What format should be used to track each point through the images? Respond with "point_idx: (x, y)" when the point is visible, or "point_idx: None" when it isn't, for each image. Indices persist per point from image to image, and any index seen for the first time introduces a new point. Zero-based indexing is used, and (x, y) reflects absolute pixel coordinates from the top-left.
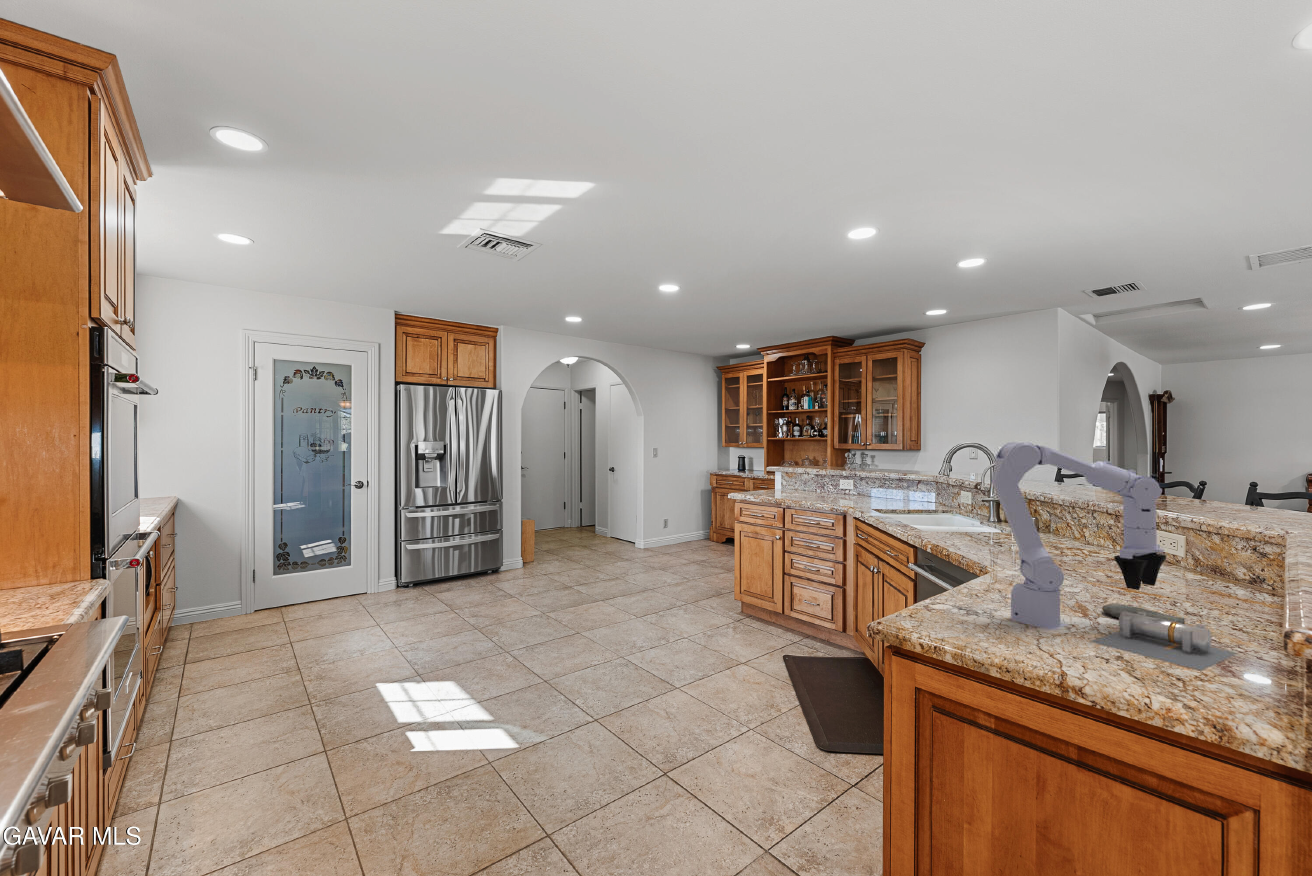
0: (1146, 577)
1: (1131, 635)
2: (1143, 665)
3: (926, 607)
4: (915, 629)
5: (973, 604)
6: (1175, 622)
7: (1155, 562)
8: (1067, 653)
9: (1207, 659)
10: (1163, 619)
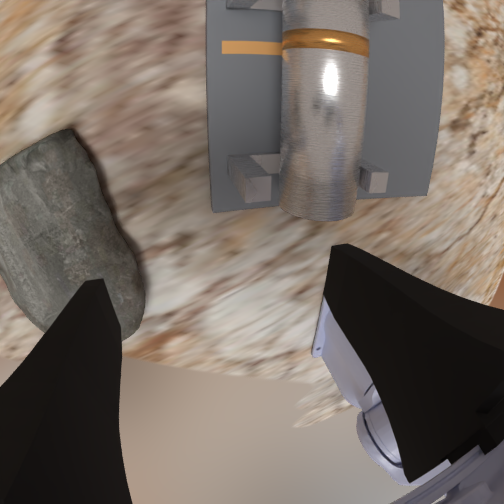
0: (106, 350)
1: None
2: (466, 83)
3: None
4: None
5: (305, 406)
6: (346, 41)
7: (61, 453)
8: (479, 188)
9: None
10: (65, 189)
